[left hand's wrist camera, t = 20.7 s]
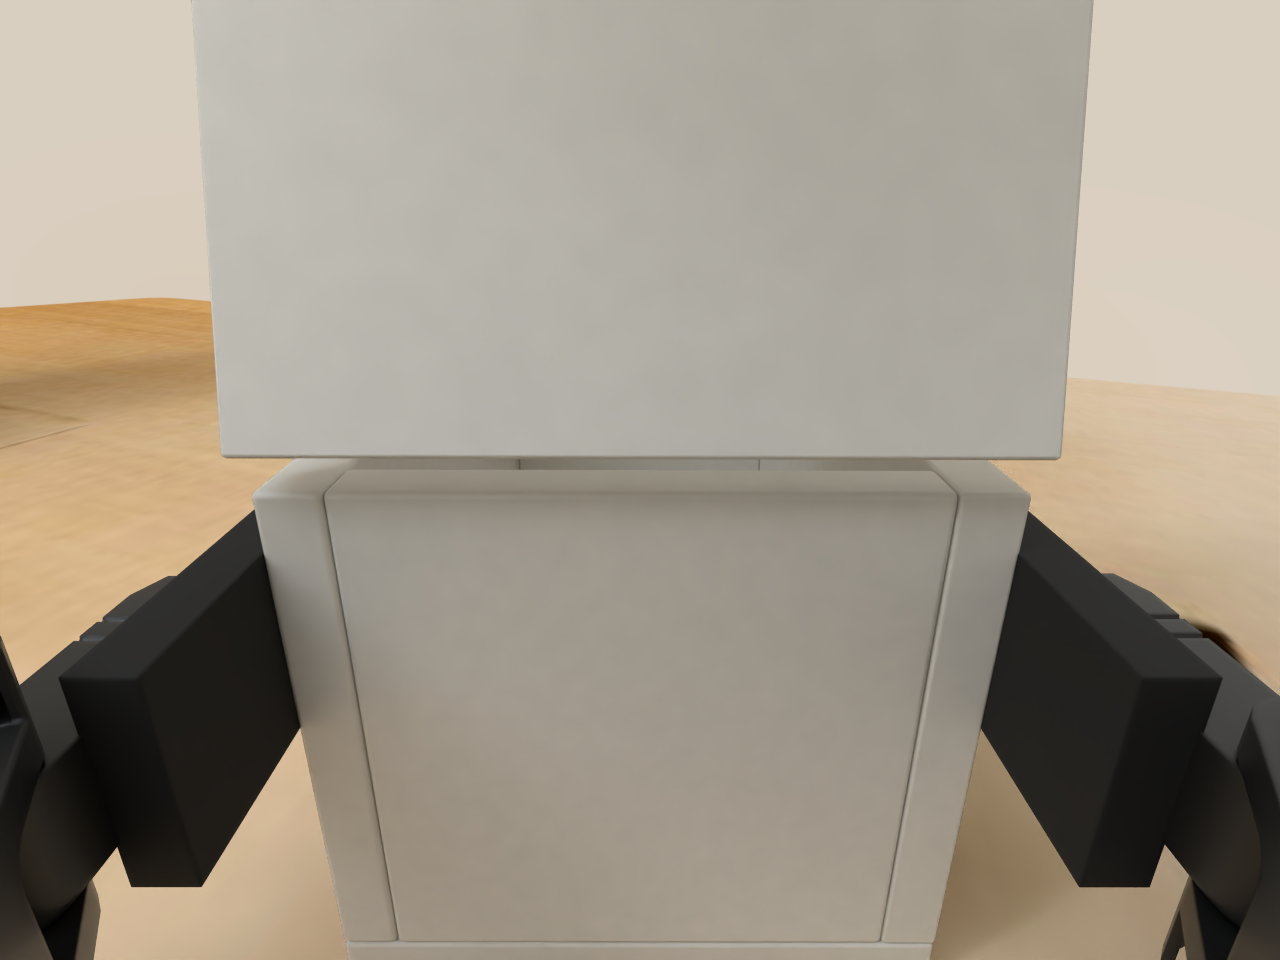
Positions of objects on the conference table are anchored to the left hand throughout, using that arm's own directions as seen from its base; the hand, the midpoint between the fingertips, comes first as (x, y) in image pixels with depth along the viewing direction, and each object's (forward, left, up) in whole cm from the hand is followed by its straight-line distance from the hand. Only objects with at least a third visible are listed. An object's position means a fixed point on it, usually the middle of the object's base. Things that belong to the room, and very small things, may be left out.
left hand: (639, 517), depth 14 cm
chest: (+3, -2, -6) cm, 7 cm away
